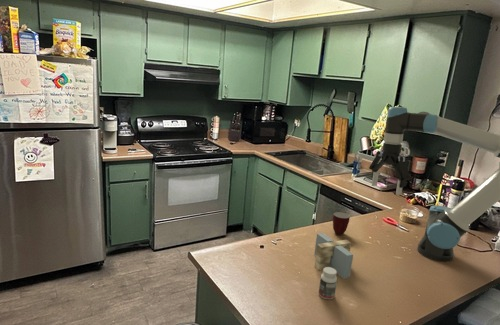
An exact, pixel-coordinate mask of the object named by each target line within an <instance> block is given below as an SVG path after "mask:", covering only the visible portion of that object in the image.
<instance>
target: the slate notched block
mask: <svg viewBox="0 0 500 325" xmlns="http://www.w3.org/2000/svg"><path fill="white" fill-rule="evenodd" d="M328 242H335V240H333V239H332V238H331V237H330V236H328V235H327V234H325V233H324V232H318V233H316V239H315V247H314V248H315V249H314V254H313V255H314V256H316V250H317V244H322V243H328ZM353 258H354V253H352V252H351V251H350V252H349V251H348V250H346V249H345V248H343V247H342V246H341V245H340V246H335V247H334V254H333V256H331V258H330V265H329V267H331V268H334V269H335V270H336V271H337V274H336V275H338V276H339V277H341V278H342V279H343V280H345V279H348V278H349V279H350V278H351V273H352V272H351V271H352V266H353V265H352V264H353Z"/></svg>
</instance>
